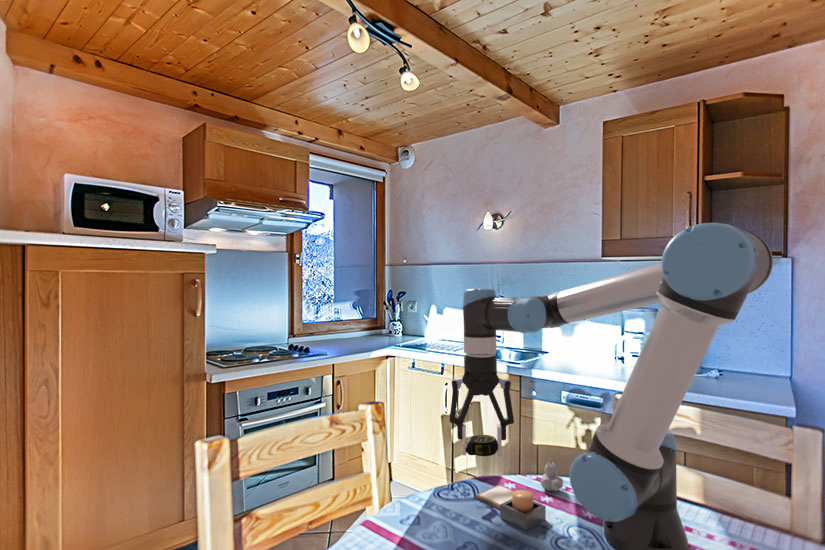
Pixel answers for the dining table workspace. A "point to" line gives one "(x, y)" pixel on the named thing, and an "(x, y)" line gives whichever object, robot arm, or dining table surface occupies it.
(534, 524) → the button box
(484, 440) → the tape measure
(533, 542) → the dining table surface
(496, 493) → the wooden square coaster
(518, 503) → the button
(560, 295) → the robot arm
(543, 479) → the bunny figurine
